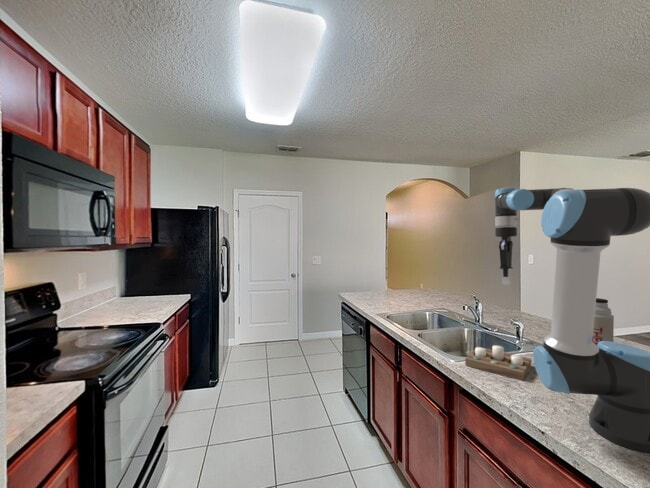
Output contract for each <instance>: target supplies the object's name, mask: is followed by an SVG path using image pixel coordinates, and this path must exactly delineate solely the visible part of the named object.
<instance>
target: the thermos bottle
mask: <svg viewBox="0 0 650 488" xmlns="http://www.w3.org/2000/svg"><path fill="white" fill-rule="evenodd" d="M608 303H609V300H608V299H605V298H597V297H596V305H595V316H594V326H593V337H592V342H593V343H594V344H595V345H596V346H597V345H598V342H601V341H610V342H614V334H615V333H614V332H615V331H614V323H615V322H614V321H615V320H614V319H615V318H614V315H613V314H612V313H613V311H612V309H611V308H610V307H609V304H608Z"/></svg>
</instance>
